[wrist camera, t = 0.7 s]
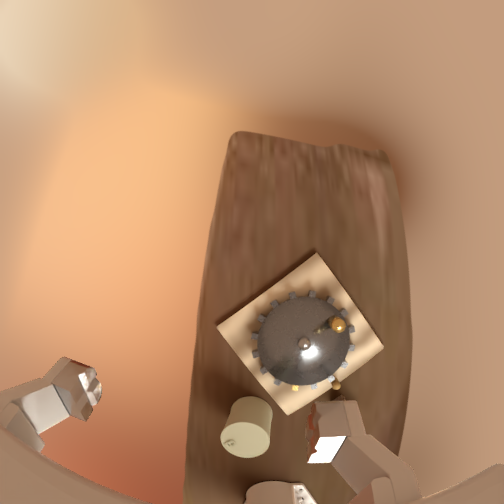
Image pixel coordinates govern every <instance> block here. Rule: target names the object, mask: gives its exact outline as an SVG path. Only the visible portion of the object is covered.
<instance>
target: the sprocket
mask: <svg viewBox="0 0 504 504" xmlns="http://www.w3.org/2000/svg"><path fill="white" fill-rule="evenodd" d="M289 296H290V299H288V300H286V301H283V302H281V303H280V304H279V303H278V301H277V300H276V299H275V300H273V301H272V302H271V303H270V304H271V305H272V307H273V309H272V310H271V311H270V312H269V313H268V315H267V316H265V315H264V314H262V313H261V314H260V315H259V317H258V319H257V320H258V321H260V322H262V325H261V327H260V330H259V332H256V331H253V332H252V336H251V339H254V340H257V349H255V350H253V351H252V355H253V358H257V357H260V360H261V362H262V364H263V366H261V367H260V372H261V373H262V374H263V375H264V374H265V373H267V372H269V373H270V374H271V375H272V376H274V377H275V379H274V384H275V385H277V386H279V385H280V384H281V382H284V383H287V384H291V385H292V390H294V391H298V387H299V386H304V385H311V389H312V390H313V389H317V384H316V383H318V382H321V381H323V380H325V379H328V380H329V381H330V382H332V381H333V380H335V377H334V375H333V374H334V373H335V372H336V371H337V370H338V369H339V367H342V368H344V369H345V368H346V367H347V365H348V363H347V361H345V358H346V356H347V353H348V351H354V349H355V345H354V344H353V343H350V334H349V333H353V332H355V328H354V326H353V325H352V324H351V325H347V323H346V321H345V319H344V317H345V316H346V315H348V314H349V313H348V312H347V310H346V309H345V308H342V309H341V310H339V311H338V310H337V309H336V308H335V307H334V306H333V305H332V304H333V302H334V300H335V299H334V298H332V297H330V296H327V298H326V300H325V301H324V300H322V299H319V298H316V297H315V296H316V291H312V290H309V293H308V296H301V297H296V293H295V291H293V292H289Z"/></svg>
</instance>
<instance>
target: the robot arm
mask: <svg viewBox="0 0 504 504" xmlns="http://www.w3.org/2000/svg"><path fill="white" fill-rule="evenodd" d="M96 375H97V373H96V371H95V369H94V368H93V367H90V366H87V365H85V364H82V363H80V362H77V361H74V360H72V359H69V358H67V357H62V358H60V360H59V361H57V363H56V364H55V365H54V366H53V367H52V368H51V369H50V370H49V371H48V373H47V374H46V375H45V376H44V377H43V378H42V379H41V378H38V379H35V380H32V381H30V382H27V383H24V384H21V385H18V386H15V387H12V388H10V389H7V390H4V391H1V392H0V504H152V503H148V502H145V501H142V500H139V499H136V498H133V497H130V496H127V495H124V494H122V493H119V492H117V491H114V490H111V489H109V488H107V487H104V486H102V485H100V484H97V483H95V482H93V481H91V480H89V479H87V478H84V477H83V476H80V475H78V474H76V473H75V472H73V471H71V470H69V469H67V468H65V467H63V466H62V465H60V464H58V463H56V462H54V461H53V460H51V459H50V458H48V457H46V456H45V455H43V454H42V453H40V452H41V450H42V449H43V447H44V445H45V443H44V441H43V440H42V439H41V437H40V436H39V435H38V434H40V433H42V432H43V431H45V430H47V429H49V428H50V427H52V426H54V425H56V424H57V423H59V422H61V421H62V420H64V419H66V418H68V417H69V416H70V415H71V416H73V417H76V418H78V419H80V420H83V421H87V419H88V417H89V416H90V415H91V413H92V411H93V408H92V406H93V405H95V404H97V403H98V402H99V400H100V398H101V394H102V387H101V384H100V382H99V381H98V380H97V379H96ZM305 435H306V439H307V441H308V442H309V444H308V446H307V461H308V463H328V462H331V464H332V465H333V467H334V468H335V469H336V470H337V471H338V473H339V474H340V475H341V476H342V477H343V478H344V480H345V481H346V482H347V483H348V484H349V485H350V486H351V488H352V489H353V490H354V491H355V492H356V493H357V494H358V495H357V496H356V497H354V498H353V499H352V500H351V501H350V502H349V503H348V504H504V465H503V464H495V465H493V466H491V467H489V468H487V469H485V470H484V471H482V472H480V473H478V474H476V475H474V476H472V477H470V478H468V479H467V480H464V481H462V482H460V483H458V484H456V485H454V486H451V487H449V488H447V489H444V490H442V491H439V492H437V493H434V494H432V495H429V496H426V497H423V498H422V496H421V492H420V489H419V486H418V482H417V479H416V476H415V473H414V469H413V468H411V467H410V466H409V465H407V464H406V463H405V462H404V461H402V460H401V459H400V458H398V457H397V456H396V455H395V454H393V453H392V452H391V451H390V450H388V449H387V448H386V447H385V446H383V445H382V444H381V443H380V442H379V441H377V440H376V439H375V438H374V437H373V436H371V435H366V432H365V428H364V425H363V421H362V418H361V414H360V411H359V407H358V404H357V402H356V401H355V400H351V401H323V402H313V403H312V406H311V414H310V415H308V418H307V421H306V427H305ZM244 504H317V503H316V501H315V500H314V498H313V497H312V495H311V494H310V493H309V491H308V490H307V488H306V487H305V485H304V484H303V483H286V482H280V481H267V482H261V483H258V484H255V485H253V486H252V487H250V488H249V489H248V491H247V493H246V501H245V503H244Z"/></svg>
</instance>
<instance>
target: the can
mask: <svg viewBox="0 0 504 504" xmlns="http://www.w3.org/2000/svg"><path fill="white" fill-rule="evenodd" d="M271 419H272V409H271V407H270V405H269V404H268V403H267V402H266V401H264V400H263V399H261V398H258V397H253V396H248V397H243V398H240V399H238V400H237V401H236V402H235V403H234V404H233V405H232V407H231V412H230V415H229V417H228V420H227V422H226V425H225V427H224V429H223V431H222V433H221V443H222V445H223V447H224V448H225V449H226V450H227V451H228V452H230V453H231V454H233V455H235V456H238V457H243V458H252V457H256V456H259V455H261V454H263V453H264V452H265V451H266V450H267V449H268V447H269V444H270V427H271Z"/></svg>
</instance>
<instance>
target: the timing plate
mask: <svg viewBox="0 0 504 504" xmlns="http://www.w3.org/2000/svg"><path fill="white" fill-rule="evenodd" d="M309 290H312V291H316V296H315V297H316V298H319V299H322V300H324V301H325V300H326V298H327V296H330V297H332V298H334V299H335V300H334V302H333V304H332V305H333V306H334V307H335V308H336V309H337V310H338V311H339V310H341V309H342V308H345V309H346V310H347V312H348V313H349V314H348V315H346V316H345V317H344V319H345V321H346V323H347V325H351V324H352V325H353V326H354V328H355V332H353V333H349V334H350V343H353V344H354V345H355V349H354V351H348V353H347V356H346V358H345V361H347V363H348V365H347V367H346V368H345V369H344V368H342V367H339V369H338V370H337V371H336V372H335V373H334V374H333V375H334V377H335V380H333V381H332V382H330V381H329V380H328V379H325V380H323V381H321V382H318V383H316V384H317V389H313V390H312V389H311V385H304V386H299V387H298V391H294V390H292V385H291V384H287V383H284V382H281V384H280V385H279V386H277V385H275V384H274V379H275V377H274V376H272V375H271V374H270V373H269V372H267V373H265V374H264V375H263V374H262V373H261V372H260V367H261V366H263V364H262V362H261V360H260V357H257V358H253V355H252V351H253V350H255V349H257V340H254V339H251V336H252V332H253V331H256V332H259V330H260V327H261V325H262V322H260V321H258V320H257V319H258V317H259V315H260V314H261V313H262V314H264V315H265V316H267V315H268V313H269V312H270V311H271V310H272V309H273V307H272V305H271V304H270V303H271V302H272V301H273V300H275V299H276V300H277V301H278V303H279V304H280V303H281V302H283V301H286V300H288V299H290V296H289V292H293V291H295V293H296V297H301V296H308V293H309ZM217 329H218V330H219V331H220V333H221V334H222V335H223V337H224V338H225V339H226V341H227V342H228V343H229V345H230V346H231V347H232V349H233V350H234V351H235V353H236V354H237V355H238V356H239V358H240V359H241V360H242V361H243V363H244V364H245V365H246V366H247V368H248V369H249V370H250V371H251V373H252V374H253V375H254V376H255V378H256V379H257V380H258V381H259V383H260V384H261V385H262V386H263V387H264V389H265V390H266V391H267V392H268V393H269V394H270V396H271V397H272V398H273V399H274V400H275V402H276V403H277V404H278V405H279V406H280V407H281V408H282V410H283V411H284V412H285V413H286V414H287V415H289V414H291V413H293V412H294V411H296V410H298V409H299V408H301V407H303V406H304V405H306V404H307V403H309V402H311V401H312V400H314V399H315V398H317V397H318V396H320V395H321V394H323V393H324V392H326V391H327V390H329V389H330V388H332V387H333V389H335V390H338V389H339V388H340V387H341V385H340V383H339V382H340V381H342V380H343V379H345V378H346V377H347V376H349V375H350V374H351V373H353V372H354V371H355V370H357V369H358V368H359V367H361V366H362V365H363V364H365V363H366V362H367V361H368V360H370V359H371V358H372V357H373V356H375V355H376V354H377V353H378V352H379V351H381V350H382V349H383V348H384V347H383V345H382V344H381V342H380V341H379V339H378V338H377V336H376V335H375V333H374V332H373V330H372V329H371V327H370V326H369V324H368V323H367V321H366V320H365V319H364V317H363V316H362V314H361V313H360V311H359V310H358V308H357V307H356V306H355V304H354V303H353V301H352V300H351V298H350V297H349V296H348V294H347V293H346V291H345V290H344V289H343V287H342V286H341V284H340V283H339V282H338V280H337V279H336V278H335V276H334V275H333V273H332V272H331V271H330V269H329V268H328V267H327V265H326V264H325V263H324V261H323V260H322V259H321V257H320V256H319V255H318V253H316V254H314V255H313V256H312V257H310V258H309V259H308V260H306V261H305V262H304V263H303V264H301V265H300V266H299V267H297V268H296V269H295V270H293V271H292V272H291V273H289V274H288V275H287V276H286V277H284V278H283V279H282V280H280V281H279V282H278V283H276V284H275V285H274V286H272V287H271V288H269V289H268V290H267V291H265V292H264V293H263V294H261V295H260V296H259V297H257V298H256V299H255V300H253V301H252V302H250V303H249V304H248V305H246V306H245V307H244V308H242V309H241V310H239V311H238V312H237V313H235V314H234V315H232V316H231V317H230V318H228V319H227V320H225V321H224V322H223V323H221V324H220V325H218V326H217Z"/></svg>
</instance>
